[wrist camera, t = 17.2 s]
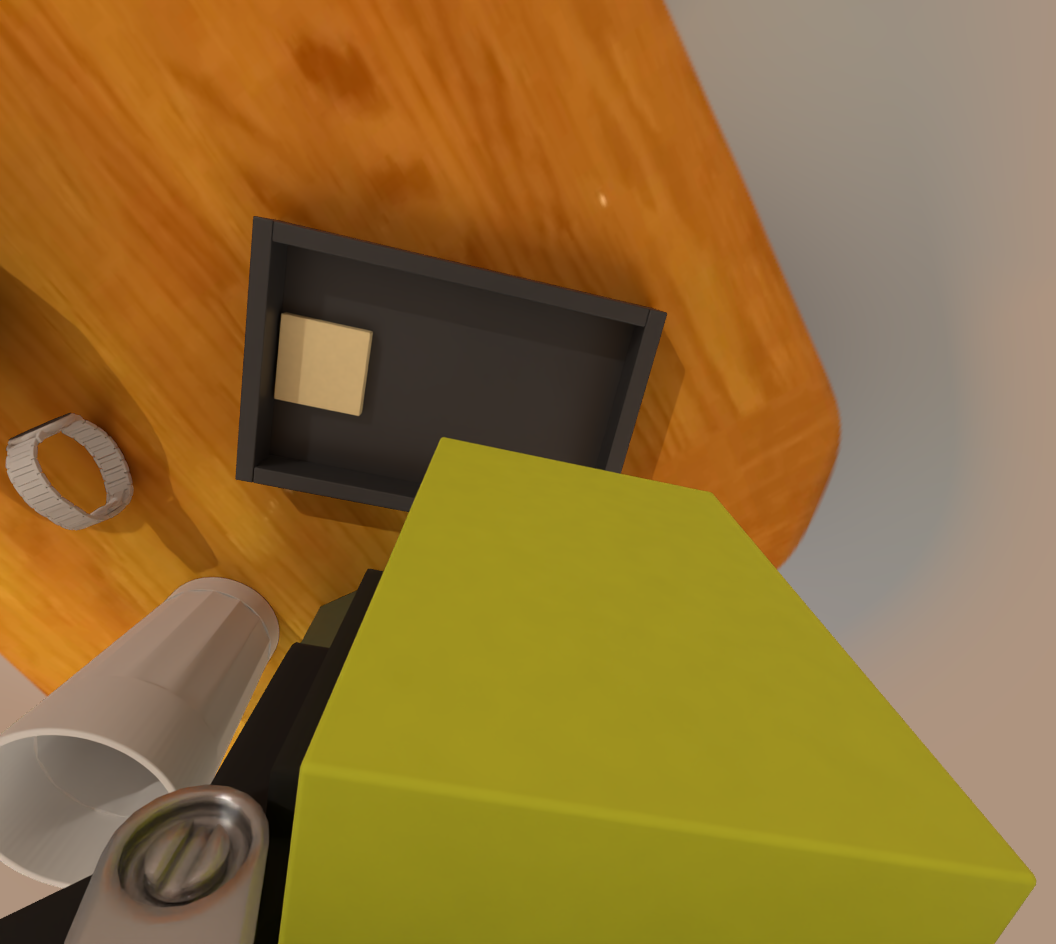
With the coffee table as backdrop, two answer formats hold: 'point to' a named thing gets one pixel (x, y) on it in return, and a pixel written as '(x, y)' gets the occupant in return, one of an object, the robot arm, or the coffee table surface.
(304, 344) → the beige flat square block
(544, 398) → the pan
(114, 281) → the coffee table surface
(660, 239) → the coffee table surface
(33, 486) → the wristwatch
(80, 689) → the cup
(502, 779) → the yellow-green rectangular block
